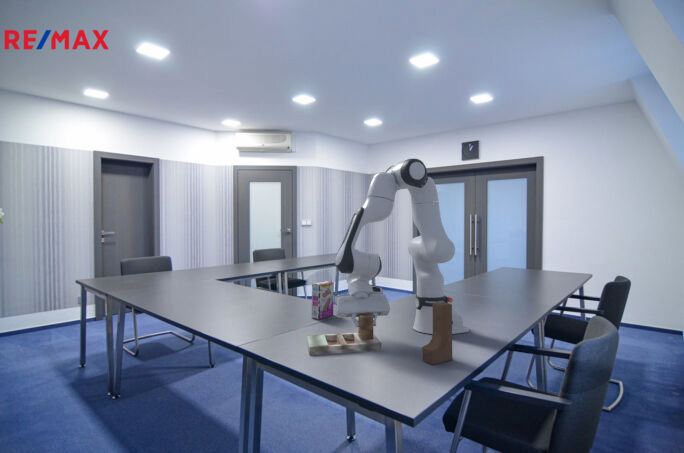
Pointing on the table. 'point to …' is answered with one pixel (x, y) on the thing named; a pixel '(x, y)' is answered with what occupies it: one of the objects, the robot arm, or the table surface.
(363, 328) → the walnut block
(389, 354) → the table surface
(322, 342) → the track
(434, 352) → the wooden block
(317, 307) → the candy bar box
